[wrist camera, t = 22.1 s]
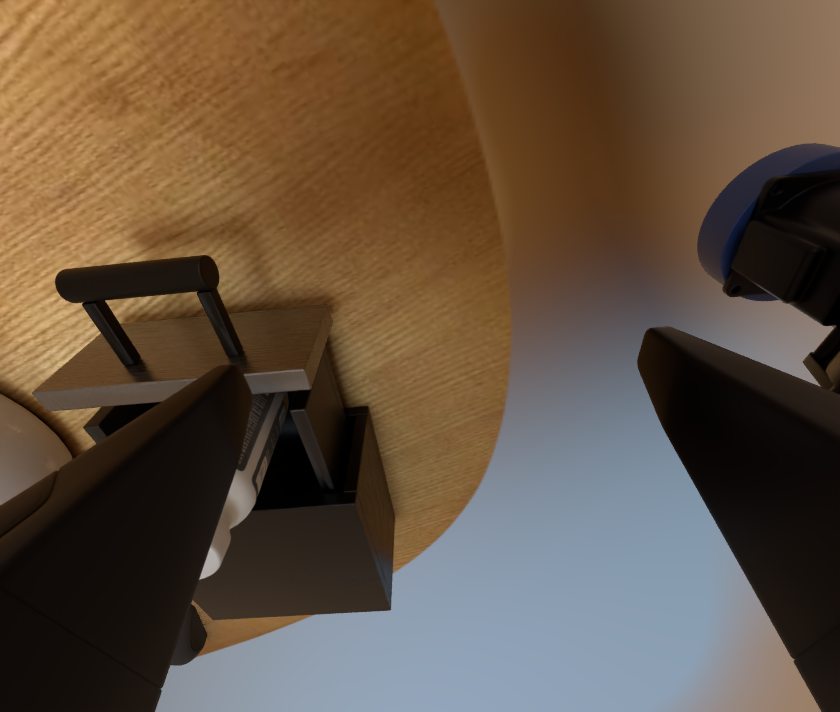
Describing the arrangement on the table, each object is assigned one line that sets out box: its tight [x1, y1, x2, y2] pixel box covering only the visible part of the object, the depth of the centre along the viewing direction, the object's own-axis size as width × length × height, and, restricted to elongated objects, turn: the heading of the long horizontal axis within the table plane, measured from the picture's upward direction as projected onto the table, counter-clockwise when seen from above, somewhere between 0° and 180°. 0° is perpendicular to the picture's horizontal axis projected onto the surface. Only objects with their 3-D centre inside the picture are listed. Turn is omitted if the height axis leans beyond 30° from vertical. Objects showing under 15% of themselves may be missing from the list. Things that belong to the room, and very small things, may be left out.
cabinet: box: [193, 406, 395, 620], centre depth 29 cm, size 14×14×8 cm
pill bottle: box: [199, 392, 289, 580], centre depth 20 cm, size 6×6×10 cm
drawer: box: [32, 255, 352, 499], centre depth 22 cm, size 17×12×6 cm
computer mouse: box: [170, 605, 207, 665], centre depth 47 cm, size 6×11×4 cm, turn 172°
